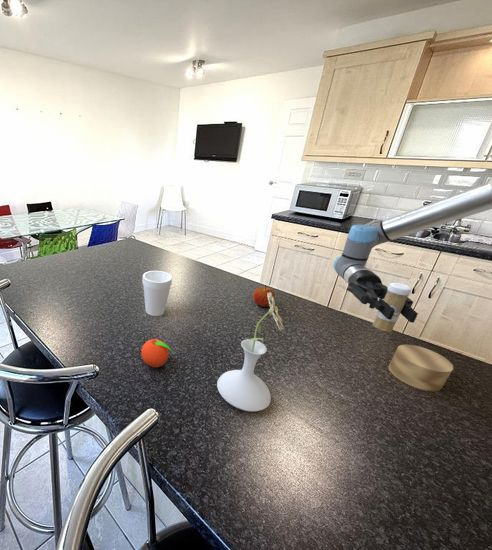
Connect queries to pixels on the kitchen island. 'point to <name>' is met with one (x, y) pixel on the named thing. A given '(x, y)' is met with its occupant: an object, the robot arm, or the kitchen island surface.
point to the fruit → (262, 296)
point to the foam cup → (156, 291)
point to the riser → (420, 367)
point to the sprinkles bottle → (392, 305)
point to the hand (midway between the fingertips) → (402, 316)
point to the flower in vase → (249, 372)
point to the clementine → (155, 353)
